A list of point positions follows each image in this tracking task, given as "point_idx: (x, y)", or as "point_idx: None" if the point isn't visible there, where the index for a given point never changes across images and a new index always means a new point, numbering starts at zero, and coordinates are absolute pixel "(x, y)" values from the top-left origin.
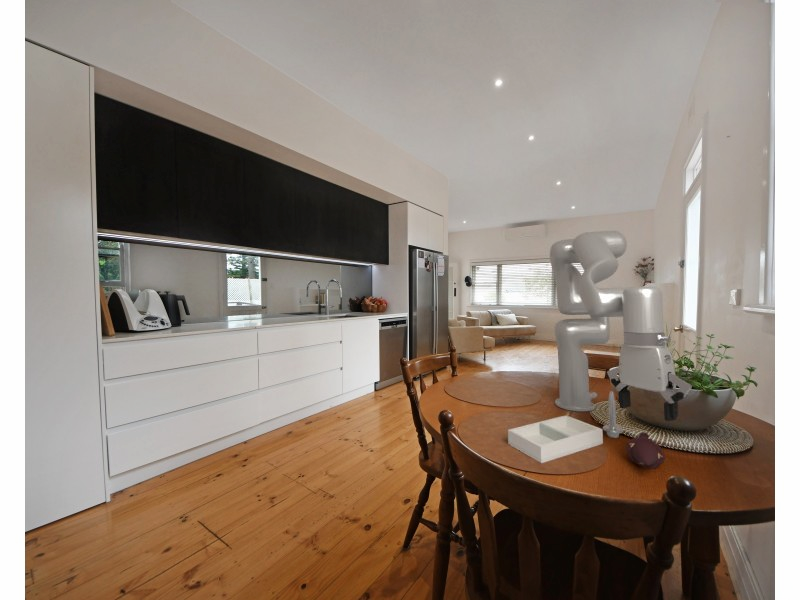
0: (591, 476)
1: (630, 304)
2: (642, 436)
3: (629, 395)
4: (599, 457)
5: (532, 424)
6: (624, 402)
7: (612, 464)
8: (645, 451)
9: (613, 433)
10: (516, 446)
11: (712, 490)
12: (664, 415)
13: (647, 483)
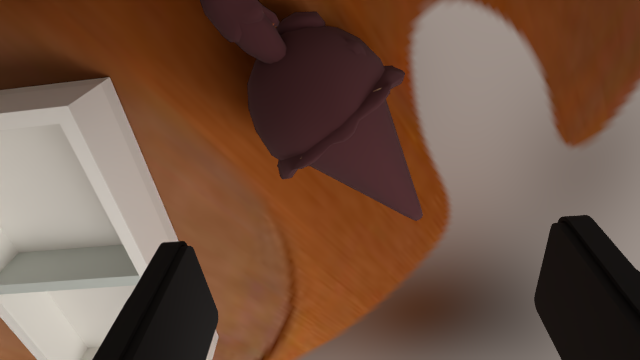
0: (318, 283)
1: None
2: (294, 112)
3: (151, 342)
4: (224, 185)
5: (7, 317)
6: (200, 342)
7: (281, 186)
8: (380, 185)
9: None
10: None
11: (565, 26)
12: (548, 332)
13: None
